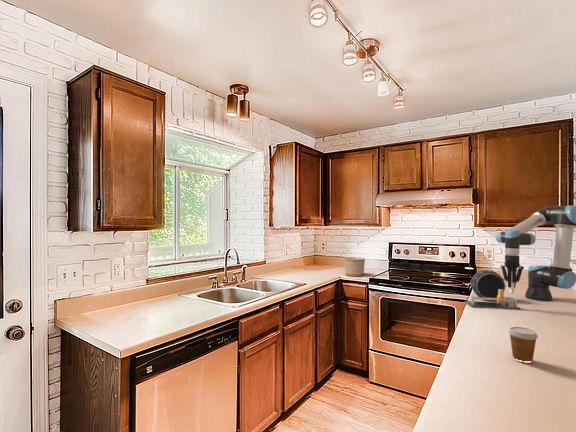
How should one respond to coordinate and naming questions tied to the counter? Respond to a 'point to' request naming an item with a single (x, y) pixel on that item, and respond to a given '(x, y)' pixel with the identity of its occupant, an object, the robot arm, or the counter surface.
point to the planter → (354, 266)
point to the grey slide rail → (508, 299)
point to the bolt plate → (492, 305)
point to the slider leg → (500, 295)
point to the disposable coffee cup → (523, 343)
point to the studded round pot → (487, 283)
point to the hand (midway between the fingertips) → (511, 292)
